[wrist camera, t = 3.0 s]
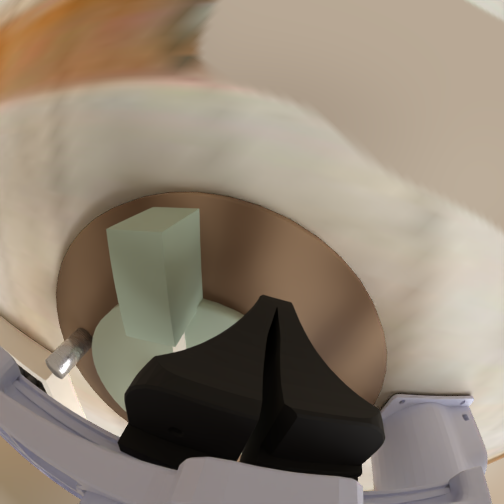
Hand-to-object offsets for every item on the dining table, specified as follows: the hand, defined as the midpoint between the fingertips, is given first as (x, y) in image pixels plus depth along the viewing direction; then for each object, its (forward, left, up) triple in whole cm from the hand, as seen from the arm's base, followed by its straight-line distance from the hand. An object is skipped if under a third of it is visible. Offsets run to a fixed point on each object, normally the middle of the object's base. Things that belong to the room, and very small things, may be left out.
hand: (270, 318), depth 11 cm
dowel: (+13, +9, -4) cm, 16 cm away
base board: (+3, +9, -4) cm, 10 cm away
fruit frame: (+25, +23, -4) cm, 34 cm away
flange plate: (+4, +7, -2) cm, 8 cm away
